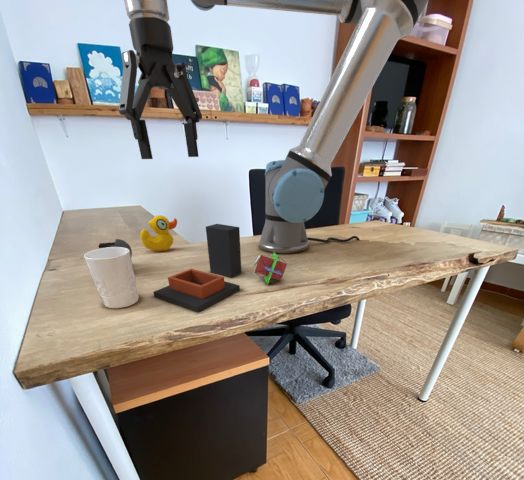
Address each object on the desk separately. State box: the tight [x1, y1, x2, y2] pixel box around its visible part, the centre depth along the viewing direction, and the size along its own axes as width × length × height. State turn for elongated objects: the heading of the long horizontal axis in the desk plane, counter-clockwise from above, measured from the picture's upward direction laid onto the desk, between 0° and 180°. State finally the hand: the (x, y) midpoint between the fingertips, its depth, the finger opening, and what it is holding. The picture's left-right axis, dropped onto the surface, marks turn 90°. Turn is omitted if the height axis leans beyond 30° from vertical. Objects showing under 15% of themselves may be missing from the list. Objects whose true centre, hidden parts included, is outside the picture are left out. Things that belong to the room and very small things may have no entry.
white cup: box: [83, 247, 140, 309], centre depth 58 cm, size 8×8×10 cm
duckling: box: [139, 214, 178, 252], centre depth 89 cm, size 11×5×10 cm, turn 110°
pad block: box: [205, 223, 242, 279], centre depth 71 cm, size 4×7×11 cm, turn 55°
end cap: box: [97, 238, 133, 258], centre depth 74 cm, size 10×7×7 cm
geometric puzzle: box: [253, 252, 288, 286], centre depth 68 cm, size 7×7×8 cm
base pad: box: [153, 268, 241, 313], centre depth 63 cm, size 13×13×4 cm
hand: (171, 158), depth 67 cm, fingers open, 13 cm apart
